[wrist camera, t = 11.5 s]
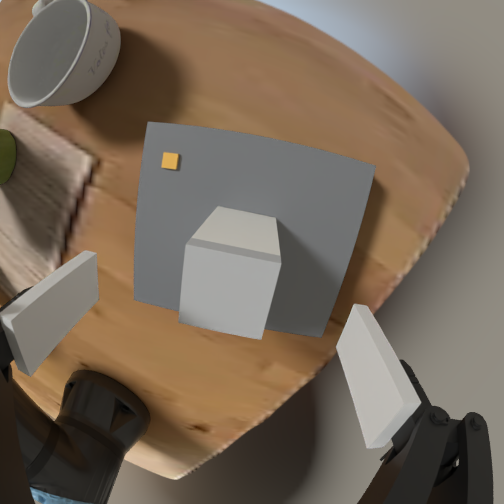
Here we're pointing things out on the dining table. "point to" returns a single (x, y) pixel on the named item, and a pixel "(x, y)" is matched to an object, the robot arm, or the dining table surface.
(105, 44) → the teacup
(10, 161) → the plant pot
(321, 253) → the plate
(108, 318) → the dining table surface
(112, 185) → the dining table surface
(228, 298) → the plug
